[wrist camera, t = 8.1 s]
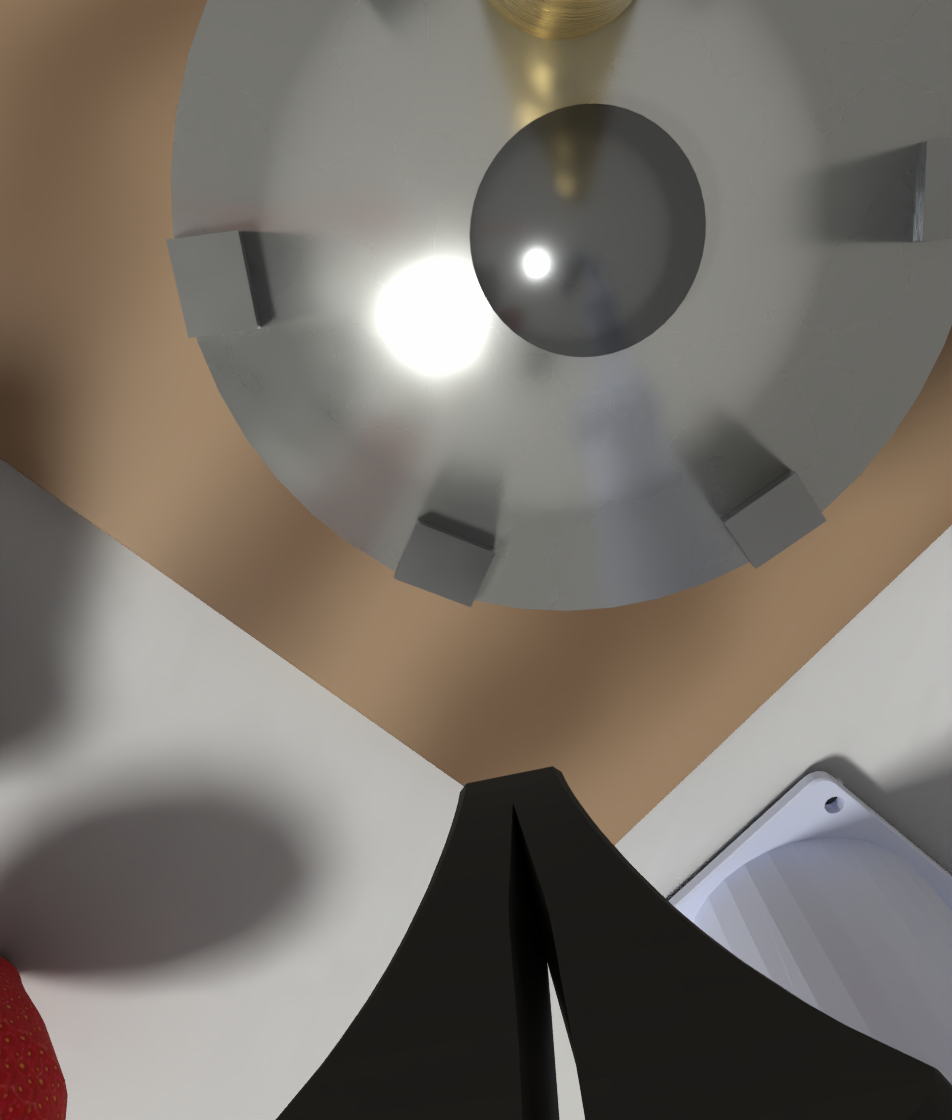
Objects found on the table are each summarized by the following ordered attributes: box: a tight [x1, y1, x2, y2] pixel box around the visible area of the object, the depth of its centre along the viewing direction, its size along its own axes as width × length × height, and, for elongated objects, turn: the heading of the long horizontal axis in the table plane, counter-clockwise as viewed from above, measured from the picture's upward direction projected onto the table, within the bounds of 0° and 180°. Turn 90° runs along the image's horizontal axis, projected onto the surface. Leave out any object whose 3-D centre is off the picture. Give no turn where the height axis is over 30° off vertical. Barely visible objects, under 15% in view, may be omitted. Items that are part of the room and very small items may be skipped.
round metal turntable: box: [166, 0, 952, 611], centre depth 14 cm, size 14×14×7 cm
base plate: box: [0, 0, 952, 845], centre depth 18 cm, size 22×22×1 cm
